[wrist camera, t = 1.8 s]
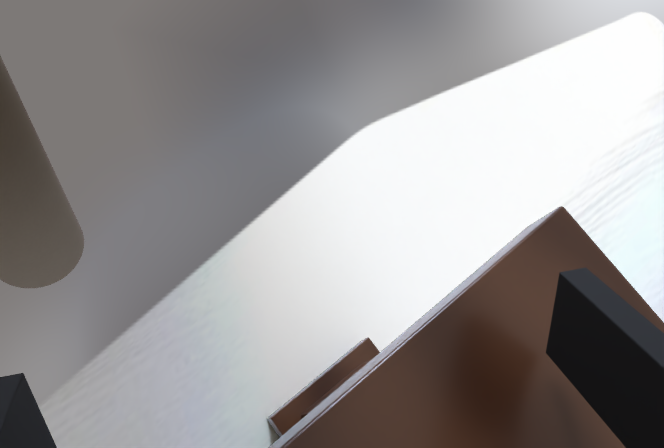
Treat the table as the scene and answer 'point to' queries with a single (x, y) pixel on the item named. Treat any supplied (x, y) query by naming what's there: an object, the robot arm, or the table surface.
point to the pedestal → (468, 363)
